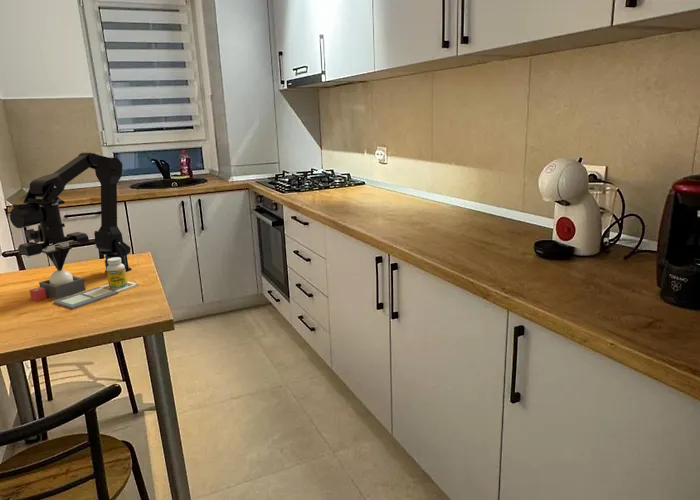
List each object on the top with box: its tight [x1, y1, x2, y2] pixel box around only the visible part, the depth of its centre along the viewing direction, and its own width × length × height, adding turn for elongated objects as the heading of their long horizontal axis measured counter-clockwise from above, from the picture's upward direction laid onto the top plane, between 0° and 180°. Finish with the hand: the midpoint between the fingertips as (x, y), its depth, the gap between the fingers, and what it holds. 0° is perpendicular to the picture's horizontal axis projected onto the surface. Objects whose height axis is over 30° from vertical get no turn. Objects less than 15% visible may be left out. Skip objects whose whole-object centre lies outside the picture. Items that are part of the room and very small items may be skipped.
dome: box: [48, 269, 74, 286], centre depth 159 cm, size 7×7×6 cm
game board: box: [53, 280, 140, 310], centre depth 157 cm, size 22×10×1 cm, turn 148°
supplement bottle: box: [105, 257, 129, 291], centre depth 162 cm, size 5×5×10 cm
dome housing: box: [29, 275, 87, 302], centre depth 158 cm, size 13×9×4 cm
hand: (59, 270), depth 158 cm, fingers closed, pressing on dome
